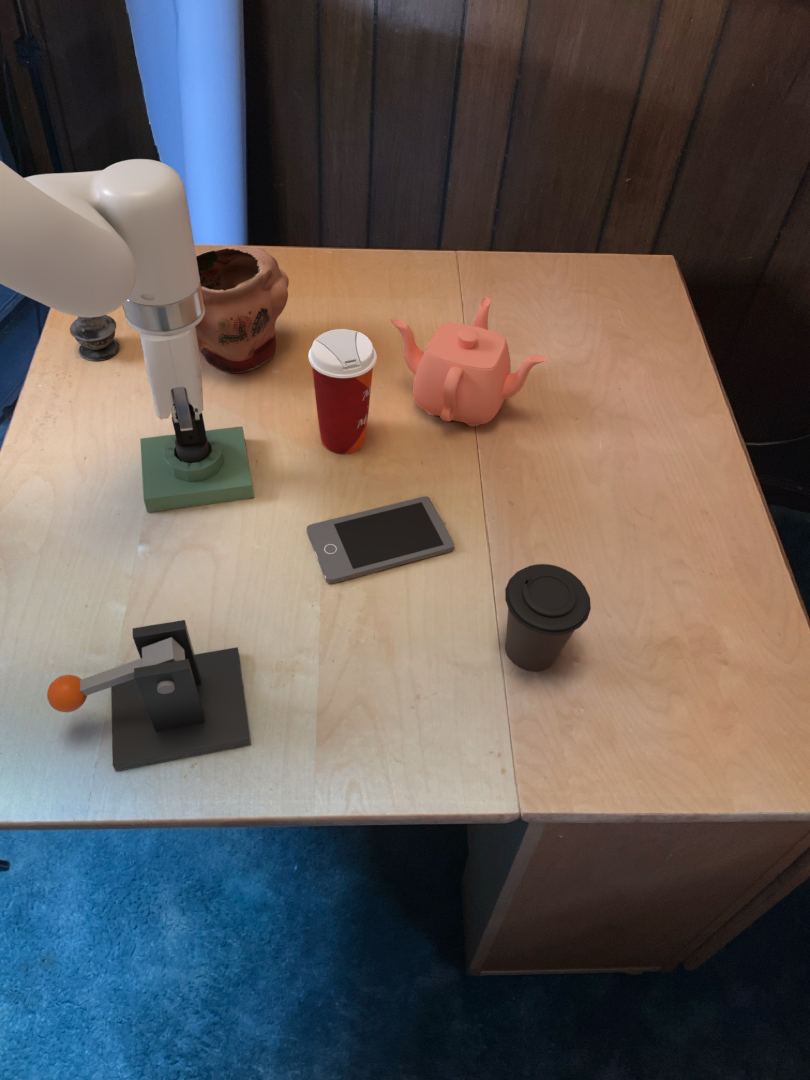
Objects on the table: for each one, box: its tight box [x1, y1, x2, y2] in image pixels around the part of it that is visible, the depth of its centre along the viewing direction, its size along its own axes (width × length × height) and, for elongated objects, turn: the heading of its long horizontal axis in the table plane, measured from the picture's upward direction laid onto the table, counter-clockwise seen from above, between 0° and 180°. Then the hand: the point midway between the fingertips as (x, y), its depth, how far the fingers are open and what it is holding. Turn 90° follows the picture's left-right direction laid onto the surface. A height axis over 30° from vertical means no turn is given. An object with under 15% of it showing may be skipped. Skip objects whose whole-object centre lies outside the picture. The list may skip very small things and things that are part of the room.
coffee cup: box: [504, 563, 592, 673], centre depth 78 cm, size 8×8×10 cm
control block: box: [139, 426, 255, 513], centre depth 94 cm, size 12×10×4 cm
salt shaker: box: [69, 314, 121, 362], centre depth 104 cm, size 6×6×12 cm
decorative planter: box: [195, 245, 290, 374], centre depth 104 cm, size 20×12×14 cm, turn 141°
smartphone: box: [306, 495, 455, 584], centre depth 90 cm, size 15×8×1 cm, turn 111°
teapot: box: [389, 296, 549, 427], centre depth 102 cm, size 14×14×11 cm
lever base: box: [110, 619, 252, 772], centre depth 72 cm, size 12×10×11 cm
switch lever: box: [46, 637, 185, 713], centre depth 69 cm, size 12×3×3 cm, turn 104°
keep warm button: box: [175, 437, 209, 463], centre depth 92 cm, size 4×4×2 cm
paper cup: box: [307, 328, 378, 455], centre depth 95 cm, size 8×8×14 cm
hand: (192, 439), depth 91 cm, fingers closed
